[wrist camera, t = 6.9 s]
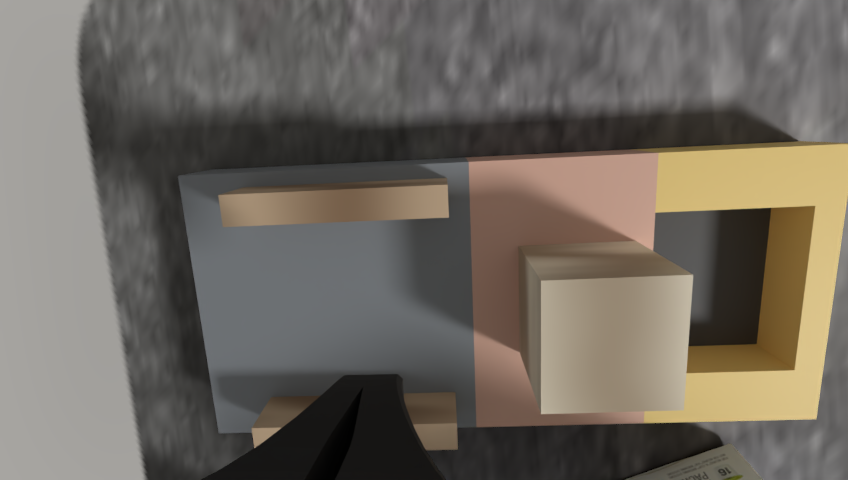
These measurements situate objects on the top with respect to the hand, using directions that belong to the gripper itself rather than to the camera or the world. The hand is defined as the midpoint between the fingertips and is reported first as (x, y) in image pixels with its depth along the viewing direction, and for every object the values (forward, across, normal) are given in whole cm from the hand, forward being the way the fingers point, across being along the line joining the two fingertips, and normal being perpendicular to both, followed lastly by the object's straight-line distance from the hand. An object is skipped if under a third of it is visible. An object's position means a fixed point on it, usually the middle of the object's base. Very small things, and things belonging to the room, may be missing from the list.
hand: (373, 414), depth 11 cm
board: (+9, -4, 0) cm, 10 cm away
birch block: (+7, -6, 0) cm, 9 cm away
